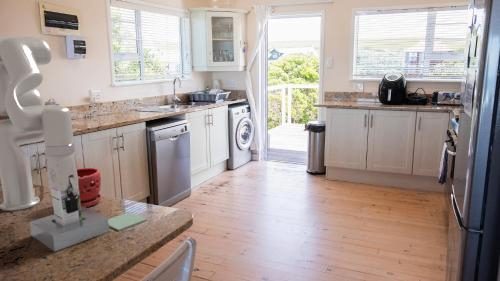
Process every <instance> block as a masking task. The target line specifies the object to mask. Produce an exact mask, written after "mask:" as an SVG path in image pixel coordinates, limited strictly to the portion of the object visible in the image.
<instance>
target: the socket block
mask: <svg viewBox="0 0 500 281" xmlns="http://www.w3.org/2000/svg"><path fill="white" fill-rule="evenodd" d="M81 213H82V221H79V222H76V223H73V224H70V225H67V226H64V227H61V226H59V225H57V224H56V223H55V215H54V214H50V215H48V216H44V217H41V218H37V219H33V220H31V221H29V228H30V235H31V237H32V238H34V239H35V240H37V241H39V242H40V243H41V244H43V245H44V246H46V247H47V248H48V249H50V250H52V251H53V252H58V251H62V250H64V249H66V248H67V249H68V248H69V247H72V246H75V245H76V244H80V243H83V242H85V241H88V240H91V239H93V238H96V237H98V236H101V235H104V234H107V233H109V232H110V227H109V224H108V219H109V217H107V216H105V215H102V214H101V213H99V212H97V211H94V210H92V209H90V208H89V207H83V206H81Z"/></svg>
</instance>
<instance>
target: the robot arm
mask: <svg viewBox="0 0 500 281" xmlns="http://www.w3.org/2000/svg"><path fill="white" fill-rule="evenodd" d="M52 55H53V54H52V50H51V48H50V45H49V44H48V43H47V42H46V40H44V39H42V38H38V37H33V36H31V37H30V36H20V35H19V36H16V35H15V36H14V35H0V116H8V118H7V119H0V182H1V189H2V196H3V202H1V203H0V210H2V211H6V212H7V211H10V212H11V211H13V212H14V211H19V210H25V209H29V208H32V207H34V206H36V205H38V204H39V203H40V197H38V196H35V191H34V185H33V178H32V176H33V175H32V169H31V164H30V163H31V162H30V157H29V155H28V153H27V152H26V151H25V150H23V149H22V147H20V146H22V145H27V144H34V143H38V142H44V149H45V157H46V172H47V174H46V175H47V183H48V186H49V187H50V186H51V187H52V188H54V189H56V190H59V191H61V192H64V193H65V196H66V200H65V204H66V212H67V213H68V214H69V213H72V212H75V211H78V203H77V194H78V191H79V189H78V178H79V176H77V169H78V168H77V164H76V159H75V156H74V155H75V154H76V150H75V140H74V139H75V138H74V132H73V122H72V112H71V110H70V109H69V108H68V107H66V106H61V105H60V104H58V103H57V104H56V103H52V104H51V103H50V104H49V103H48V104H44V100H43V97H42V94H41V93H40V91H39V90H38V89H37V88H38V87H39V86H40V85H42V83H43V80H44V76H43V74H42V71H41V69H40V68H39V66H40V65H43V66H44V65H49V63H51V61H52V57H53V56H52ZM51 187H50V188H51ZM68 187H71V188H70V189H67V188H68ZM68 191H72V192H70V194H68Z"/></svg>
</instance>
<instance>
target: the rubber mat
mask: <svg viewBox="0 0 500 281" xmlns="http://www.w3.org/2000/svg"><path fill="white" fill-rule="evenodd" d="M146 221H148V220H147V218H145V217H142V216H140V215H137V214H135V213H132V212H130V211H129V212H126V213H123V214H120V215H116V216H114V217H111V218H108V224H109V228H111V229H114V230H115V231H118V232H121V231H123V230H126V229H128V228H131V227H133V226H136V225H139V224H142V223H144V222H146Z"/></svg>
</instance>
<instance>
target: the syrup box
mask: <svg viewBox="0 0 500 281" xmlns="http://www.w3.org/2000/svg"><path fill="white" fill-rule="evenodd" d="M49 187H50V192H51V199H52V200H51V201H52V207H53V215H55V223H56V224H57V225H59V226H61V227H64V226H67V225H70V224H73V223H76V222H79V221H82V213H81V205H80V196H79V191H78V194H77V203H78V211H75V212H72V213H69V214H68V213H67V212H66V204H65V200H66V196H65V193H64V192H61V191H59V190H56V189H54V188H52V187H51V186H49ZM70 188H71V187H68V188H67V189H70ZM78 189H79V188H78ZM70 192H72V191H68V194H70Z"/></svg>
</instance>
